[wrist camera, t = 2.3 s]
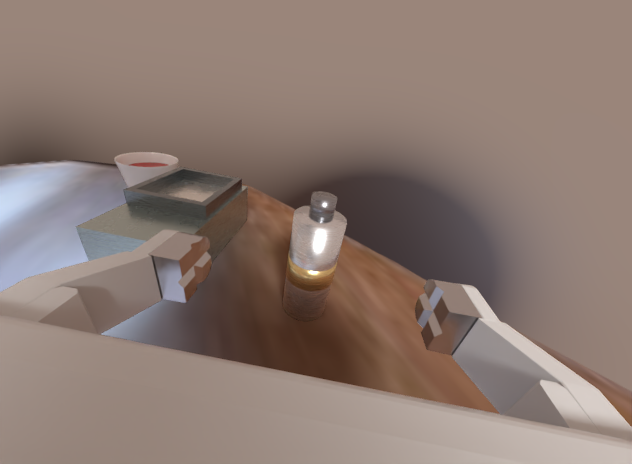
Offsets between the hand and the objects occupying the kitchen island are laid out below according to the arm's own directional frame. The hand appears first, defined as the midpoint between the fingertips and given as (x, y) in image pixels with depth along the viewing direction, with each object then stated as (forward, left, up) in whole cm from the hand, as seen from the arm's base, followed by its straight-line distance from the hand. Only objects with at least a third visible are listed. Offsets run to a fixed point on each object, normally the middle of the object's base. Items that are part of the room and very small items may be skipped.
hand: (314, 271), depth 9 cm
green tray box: (-18, +19, -15) cm, 30 cm away
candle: (-31, +31, -15) cm, 47 cm away
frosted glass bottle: (0, +12, -15) cm, 19 cm away
